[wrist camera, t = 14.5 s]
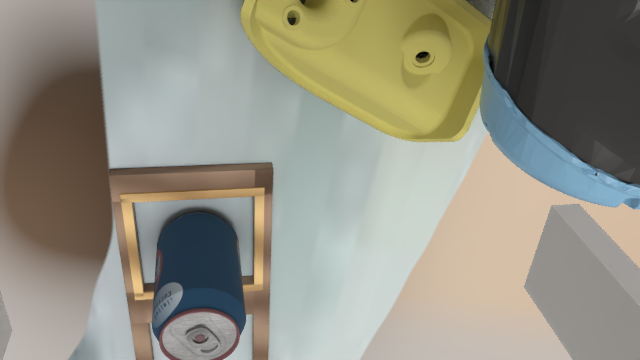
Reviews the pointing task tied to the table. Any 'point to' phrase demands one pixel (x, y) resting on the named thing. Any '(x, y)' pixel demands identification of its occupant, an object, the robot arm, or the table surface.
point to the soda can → (198, 289)
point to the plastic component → (380, 59)
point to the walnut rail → (188, 186)
